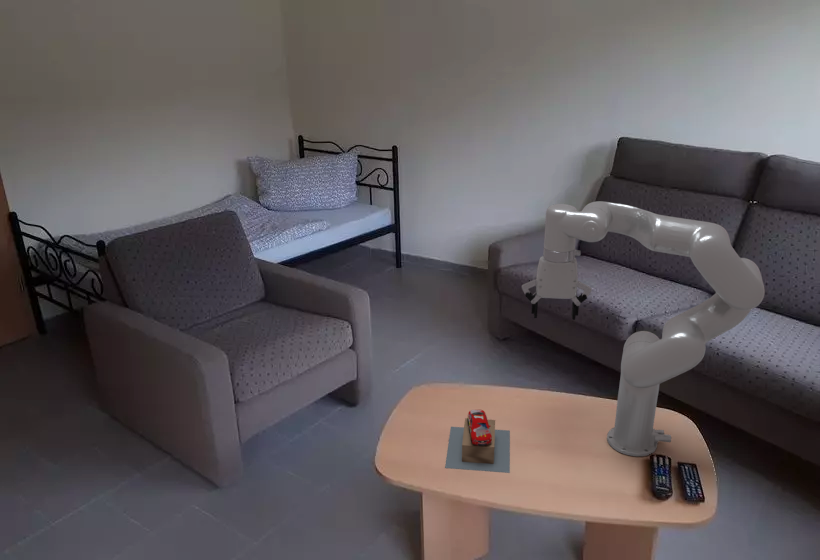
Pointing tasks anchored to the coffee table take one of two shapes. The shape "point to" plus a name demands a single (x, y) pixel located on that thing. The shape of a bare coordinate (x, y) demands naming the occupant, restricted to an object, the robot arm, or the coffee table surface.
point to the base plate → (499, 463)
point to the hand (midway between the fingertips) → (554, 316)
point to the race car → (479, 428)
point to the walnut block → (478, 447)
